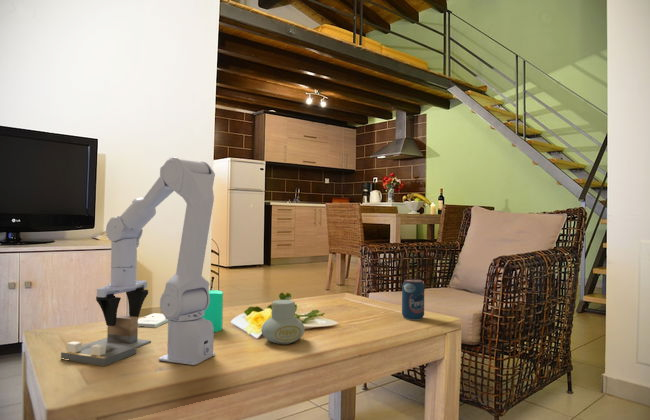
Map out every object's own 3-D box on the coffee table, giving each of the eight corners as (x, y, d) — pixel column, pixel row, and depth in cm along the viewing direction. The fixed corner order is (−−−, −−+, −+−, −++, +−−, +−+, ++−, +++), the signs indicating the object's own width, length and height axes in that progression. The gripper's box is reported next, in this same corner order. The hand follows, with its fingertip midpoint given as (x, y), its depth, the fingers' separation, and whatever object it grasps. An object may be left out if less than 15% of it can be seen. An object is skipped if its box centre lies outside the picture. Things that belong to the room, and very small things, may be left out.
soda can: (412, 321, 135) (413, 282, 135) (397, 317, 140) (397, 279, 140) (428, 319, 138) (429, 280, 138) (413, 314, 144) (413, 278, 144)
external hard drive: (176, 319, 136) (155, 329, 123) (151, 318, 137) (128, 328, 125) (176, 314, 136) (155, 323, 123) (151, 313, 137) (128, 322, 125)
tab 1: (81, 350, 97) (81, 342, 97) (75, 352, 95) (75, 344, 95) (73, 349, 97) (73, 341, 98) (66, 351, 96) (66, 343, 96)
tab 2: (105, 353, 95) (105, 345, 95) (99, 355, 93) (99, 347, 93) (96, 352, 96) (96, 344, 96) (90, 354, 94) (90, 346, 94)
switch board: (135, 353, 100) (135, 346, 100) (104, 366, 92) (104, 358, 92) (94, 347, 104) (94, 341, 104) (60, 359, 96) (61, 352, 96)
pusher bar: (137, 341, 108) (137, 317, 108) (130, 344, 106) (130, 319, 106) (114, 338, 111) (115, 314, 111) (107, 341, 108) (107, 316, 108)
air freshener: (265, 347, 106) (266, 306, 106) (258, 338, 114) (258, 300, 114) (308, 343, 110) (309, 303, 110) (298, 335, 118) (298, 297, 118)
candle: (206, 333, 118) (207, 288, 118) (196, 328, 123) (197, 285, 123) (226, 329, 122) (227, 286, 122) (216, 325, 126) (216, 283, 127)
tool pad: (150, 342, 109) (150, 340, 109) (133, 348, 104) (133, 347, 104) (112, 337, 113) (112, 335, 113) (93, 343, 107) (93, 342, 107)
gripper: (132, 263, 117) (131, 314, 117) (86, 269, 103) (85, 327, 103) (154, 264, 115) (153, 316, 114) (110, 270, 101) (109, 330, 101)
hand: (122, 321), depth 108 cm, fingers open, 7 cm apart
